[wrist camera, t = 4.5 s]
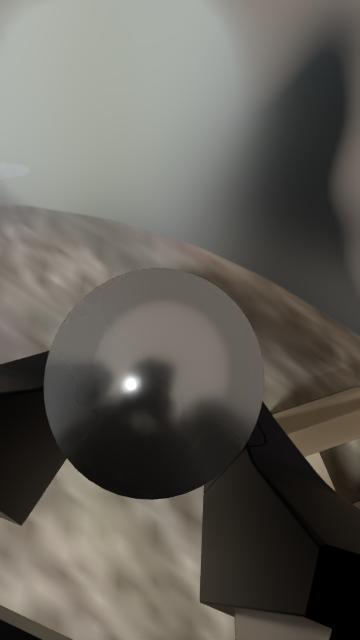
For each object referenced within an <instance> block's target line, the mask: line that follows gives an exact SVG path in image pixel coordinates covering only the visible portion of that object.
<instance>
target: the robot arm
mask: <svg viewBox="0 0 360 640" xmlns="http://www.w3.org/2000/svg"><path fill="white" fill-rule="evenodd" d="M48 355H49V351H46V352H43V353H40V354H36V355H32V356H29V357H25V358H22V359H18V360H15V361H11V362H8V363H4V364H0V517H1V518H4V519H6V520H8V521H11V522H13V523H15V524H18V525H20V526H21V525H22V524H23V523H24V522H25V520H26V519H27V517H28V516H29V514H30V513H31V511H32V510H33V508H34V507H35V505H36V504H37V502H38V501H39V499H40V498H41V496H42V495H43V493H44V492H45V490H46V489H47V487H48V486H49V484H50V483H51V481H52V480H53V478H54V477H55V475H56V474H57V472H58V471H59V469H60V468H61V466H62V465H63V463H64V462H65V460H66V459H67V458H66V456H65V455H64V453H63V452H62V450H61V448H60V447H59V445H58V444H57V442H56V439H55V437H54V435H53V433H52V430H51V428H50V424H49V421H48V417H47V414H46V408H45V401H44V376H45V367H46V363H47V359H48ZM200 603H203V604H205V605H207V606H210V607H212V608H214V609H217V610H219V611H221V612H224V613H226V614H228V615H231V616H233V617H235V640H360V509H359V508H357V507H356V506H354V505H353V504H352V503H350V502H349V501H347V500H346V499H345V498H343V497H342V496H341V495H339V494H338V493H337V492H336V491H335V490H333V489H332V488H331V487H330V486H329V485H328V484H327V483H326V482H325V481H324V480H323V479H322V478H321V477H320V476H319V474H318V473H317V472H316V471H315V470H314V468H313V467H312V466H311V465H310V463H309V462H308V461H307V459H306V458H305V457H304V456H303V454H302V453H301V452H300V451H299V449H298V448H297V447H296V445H295V444H294V443H293V442H292V440H291V439H290V438H289V436H288V435H287V434H286V433H285V431H284V430H283V429H282V427H281V426H280V425H279V423H278V422H277V421H276V419H275V418H274V417H273V415H272V414H271V412H270V411H269V409H268V408H267V407H266V405H265V404H264V402H263V401H262V404H261V409H260V413H259V416H258V419H257V422H256V425H255V427H254V429H253V431H252V433H251V436H250V438H249V440H248V441H247V443H246V444H245V446H244V447H243V449H242V450H241V452H240V453H239V455H238V456H237V457H236V458H235V459H234V460H233V462H232V463H231V464H230V465H229V466H228V467H227V468H226V469H225V470H224V471H222V472H221V473H220V474H219V475H218V476H217V477H215V478H214V479H212V480H211V481H209V482H208V483H206V484H204V496H203V522H202V549H201V576H200ZM0 640H72V639H70V638H68V637H66V636H64V635H62V634H60V633H58V632H56V631H54V630H51V629H49V628H47V627H45V626H43V625H41V624H39V623H37V622H35V621H33V620H31V619H28V618H26V617H24V616H22V615H20V614H18V613H16V612H14V611H12V610H10V609H7V608H5V607H3V606H1V605H0Z"/></svg>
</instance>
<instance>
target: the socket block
mask: <svg viewBox="0 0 360 640" xmlns="http://www.w3.org/2000/svg"><path fill="white" fill-rule="evenodd" d="M273 417H274V418H275V419H276V421H277V422H278V423H279V425H280V426H281V427H282V429H283V430H284V431H285V433H286V434H287V435H288V436H289V438H290V439H291V440H292V442H293V443H294V444H295V445H296V447H297V448H298V449H299V451H300V452H301V453H302V454H303V456H304V457H305V458H306V459H307V461H308V462H309V463H310V465H311V466H312V467H313V468H314V470H315V471H316V472H317V473H318V474H319V476H320V477H321V478H322V479H323V480H324V481H325V482H326V483H327V484H328V485H329V486H330V487H331V488H332V489H333V490H335V488H334V486H333V484H332V481H331V479H330V477H329V474H328V472H327V470H326V467H325V465H324V463H323V460H322V458H321V456H320V453H319V452H321V451H324V450H327V449H329V448H332V447H335V446H338V445H341V444H344V443H346V442H349V441H352V440H355V439H358V438H360V387H354V388H351V389H348V390H345V391H342V392H339V393H336V394H333V395H330V396H327V397H324V398H321V399H318V400H315V401H312V402H309V403H306V404H303V405H300V406H297V407H294V408H291V409H288V410H285V411H282V412H279V413H276V414H273ZM353 505H354V506H356V507H357V508H359V509H360V501H358V502H356V503H353Z"/></svg>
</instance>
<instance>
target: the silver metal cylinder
mask: <svg viewBox="0 0 360 640" xmlns="http://www.w3.org/2000/svg"><path fill="white" fill-rule="evenodd" d="M263 393H264V368H263V360H262V355H261V350H260V346H259V343H258V340H257V337H256V335H255V333H254V330H253V328H252V326H251V324H250V322H249V321H248V319H247V318H246V316H245V314H244V313H243V311H242V310H241V309H240V308H239V306H238V305H237V304H236V303H235V302H234V301H233V300H232V299H231V298H230V297H229V296H228V295H227V294H226V293H225V292H224V291H222V290H221V289H220V288H218V287H217V286H216V285H214V284H212V283H211V282H209V281H207V280H205V279H204V278H201V277H199V276H196V275H194V274H191V273H188V272H184V271H180V270H174V269H168V268H151V269H141V270H136V271H131V272H128V273H125V274H122V275H119V276H117V277H115V278H112V279H110V280H108V281H106V282H105V283H103V284H101V285H100V286H98V287H96V288H95V289H94V290H92V291H91V292H90V293H89V294H87V295H86V296H85V297H84V298H83V299H82V300H81V301H80V302H79V303H78V304H77V305H76V306H75V307H74V308H73V309H72V311H71V312H70V313H69V314H68V316H67V317H66V319H65V320H64V322H63V323H62V325H61V326H60V328H59V330H58V332H57V334H56V336H55V338H54V340H53V343H52V346H51V349H50V351H49V355H48V359H47V363H46V367H45V376H44V401H45V408H46V414H47V417H48V421H49V424H50V428H51V430H52V433H53V435H54V437H55V439H56V442H57V444H58V445H59V447H60V448H61V450H62V452H63V453H64V455H65V456H66V458H67V459H68V460H69V461H70V462H71V464H72V465H73V466H74V467H75V468H76V469H77V470H78V471H79V472H80V473H81V474H83V475H84V476H85V477H86V478H87V479H88V480H90V481H92V482H93V483H95V484H96V485H98V486H100V487H101V488H103V489H105V490H108V491H110V492H113V493H115V494H118V495H121V496H126V497H130V498H135V499H150V500H153V499H163V498H170V497H174V496H178V495H182V494H185V493H188V492H190V491H192V490H194V489H197V488H199V487H201V486H203V485H204V484H206V483H208V482H209V481H211V480H212V479H214V478H215V477H217V476H218V475H219V474H220V473H221V472H222V471H224V470H225V469H226V468H227V467H228V466H229V465H230V464H231V463H232V462H233V460H234V459H235V458H236V457H237V456H238V455H239V453H240V452H241V450H242V449H243V447H244V446H245V444H246V443H247V441H248V440H249V438H250V436H251V433H252V431H253V429H254V427H255V425H256V422H257V419H258V416H259V413H260V409H261V404H262V399H263Z"/></svg>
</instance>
